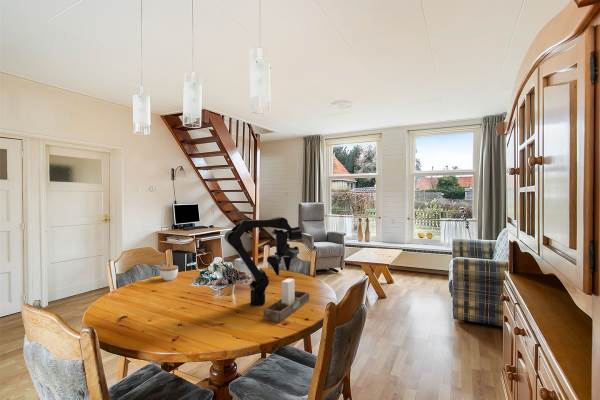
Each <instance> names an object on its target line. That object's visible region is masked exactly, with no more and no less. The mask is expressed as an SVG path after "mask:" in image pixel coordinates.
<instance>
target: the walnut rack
mask: <svg viewBox="0 0 600 400" xmlns="http://www.w3.org/2000/svg"><path fill="white" fill-rule="evenodd" d="M308 302H310V292H309V291H301V290H295V302H293V303H292V304H285V303H282V298H280V299H278V300H277V301H275V302H273V303H272V304H271V305H269V306H267V307H266V308H264V309H263V320H268V321H272V322H276V323H277V322H278V323H282V322H283V321H284V320H286V319H287V318H288V317H290V316H291V315H292V314H293V313H295V312H296V311H297V310H299V309H300V308H301V307H303V306H304V305H306V304H307V303H308Z"/></svg>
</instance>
